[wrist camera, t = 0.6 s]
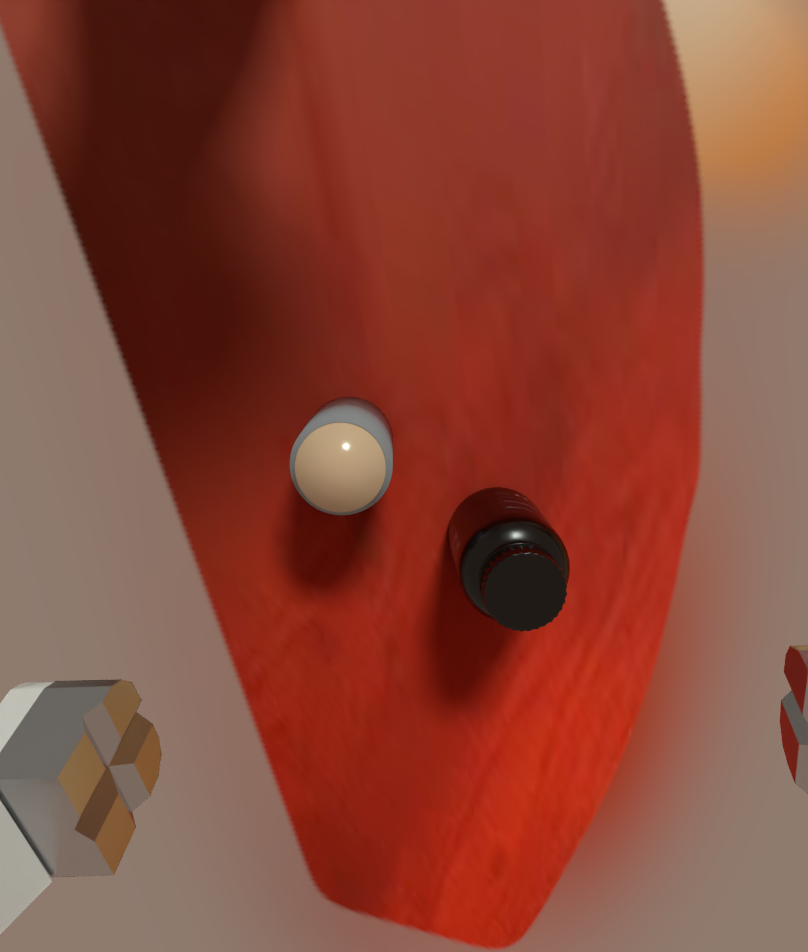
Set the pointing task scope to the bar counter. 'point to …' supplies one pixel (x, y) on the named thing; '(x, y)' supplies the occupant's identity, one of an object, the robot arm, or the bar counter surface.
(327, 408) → the sugar jar
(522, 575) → the supplement bottle
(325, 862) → the bar counter surface
